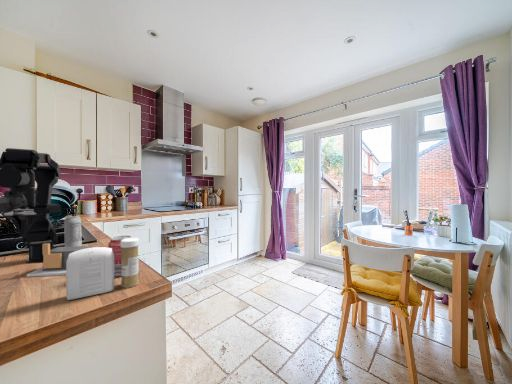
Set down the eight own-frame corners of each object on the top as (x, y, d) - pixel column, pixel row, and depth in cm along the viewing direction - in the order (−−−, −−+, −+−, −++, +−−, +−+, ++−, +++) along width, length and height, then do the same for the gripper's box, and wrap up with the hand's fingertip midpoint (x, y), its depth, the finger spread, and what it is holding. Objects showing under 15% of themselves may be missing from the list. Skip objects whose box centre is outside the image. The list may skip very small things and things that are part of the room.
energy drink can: (77, 246, 103) (76, 215, 102) (84, 248, 100) (84, 216, 100) (61, 249, 97) (61, 217, 97) (69, 251, 95) (68, 217, 94)
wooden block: (42, 268, 70) (42, 244, 70) (45, 267, 71) (44, 243, 71) (59, 268, 71) (59, 243, 71) (61, 267, 72) (61, 243, 72)
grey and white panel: (26, 276, 68) (26, 255, 68) (58, 262, 81) (57, 244, 81) (89, 273, 70) (88, 253, 70) (110, 260, 83) (109, 243, 83)
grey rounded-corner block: (114, 285, 62) (114, 243, 62) (114, 291, 58) (114, 246, 58) (68, 295, 56) (67, 249, 56) (64, 302, 53) (63, 253, 53)
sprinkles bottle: (118, 285, 62) (118, 239, 62) (135, 280, 66) (135, 236, 65) (124, 290, 59) (123, 242, 59) (141, 284, 63) (141, 239, 63)
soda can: (130, 267, 76) (130, 234, 75) (136, 273, 71) (136, 237, 70) (106, 273, 71) (105, 237, 70) (111, 280, 66) (110, 241, 65)
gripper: (-43, 187, 60) (-41, 243, 60) (33, 187, 63) (34, 240, 63) (-2, 187, 71) (0, 234, 71) (61, 187, 74) (62, 232, 74)
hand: (23, 235), depth 70 cm, fingers closed
